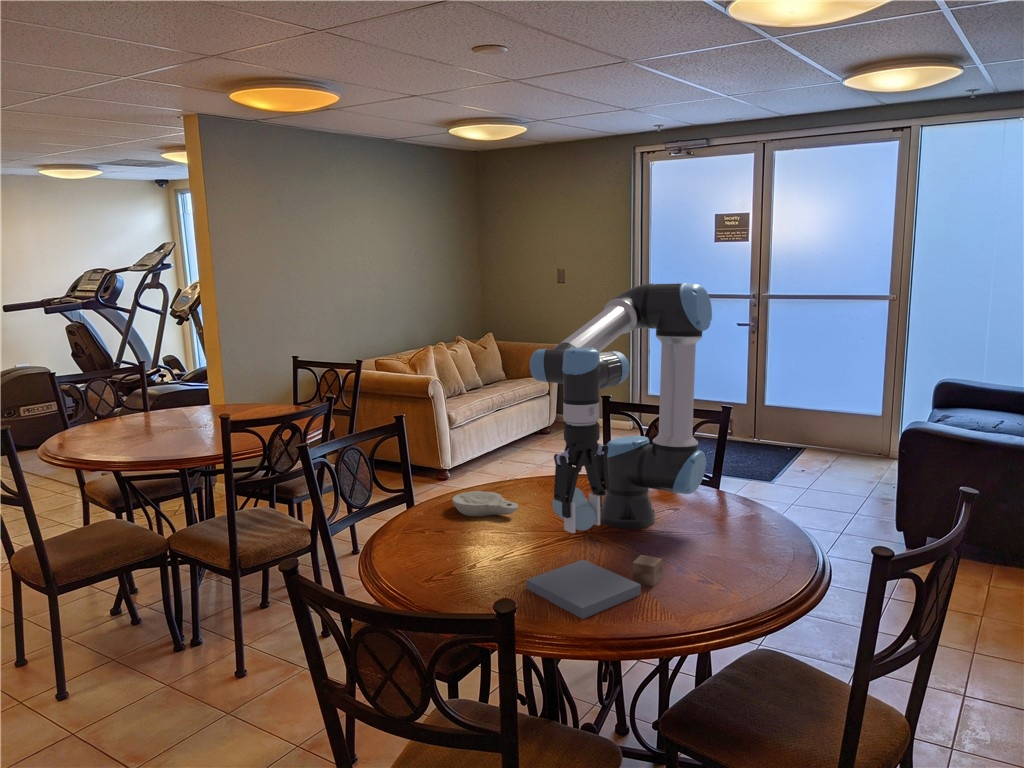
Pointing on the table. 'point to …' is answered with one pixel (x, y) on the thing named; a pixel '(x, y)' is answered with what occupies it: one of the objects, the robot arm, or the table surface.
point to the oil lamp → (483, 504)
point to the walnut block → (647, 570)
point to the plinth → (583, 588)
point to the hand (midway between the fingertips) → (582, 527)
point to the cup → (578, 511)
